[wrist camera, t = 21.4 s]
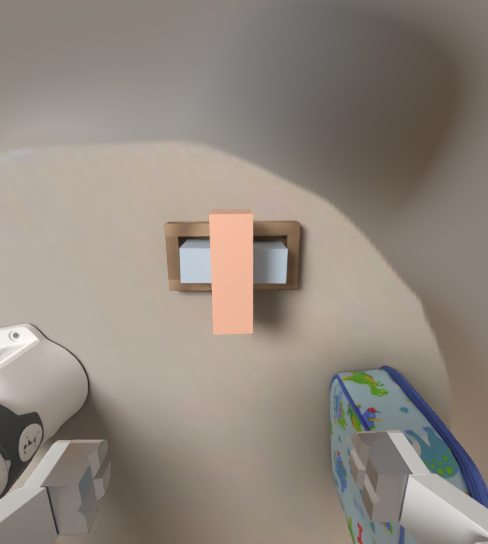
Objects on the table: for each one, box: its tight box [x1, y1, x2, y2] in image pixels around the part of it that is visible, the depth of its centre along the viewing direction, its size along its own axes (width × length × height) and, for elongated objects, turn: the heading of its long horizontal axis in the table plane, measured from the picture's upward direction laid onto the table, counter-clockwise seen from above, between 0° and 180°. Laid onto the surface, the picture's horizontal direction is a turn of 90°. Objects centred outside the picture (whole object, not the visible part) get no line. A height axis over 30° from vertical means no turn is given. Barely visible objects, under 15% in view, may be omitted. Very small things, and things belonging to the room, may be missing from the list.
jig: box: [164, 221, 300, 291], centre depth 39 cm, size 16×8×3 cm, turn 90°
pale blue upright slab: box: [179, 239, 288, 283], centre depth 36 cm, size 12×4×6 cm, turn 89°
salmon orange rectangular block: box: [209, 210, 253, 334], centre depth 31 cm, size 12×4×5 cm, turn 0°
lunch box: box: [330, 366, 488, 544], centre depth 38 cm, size 26×11×21 cm, turn 7°
